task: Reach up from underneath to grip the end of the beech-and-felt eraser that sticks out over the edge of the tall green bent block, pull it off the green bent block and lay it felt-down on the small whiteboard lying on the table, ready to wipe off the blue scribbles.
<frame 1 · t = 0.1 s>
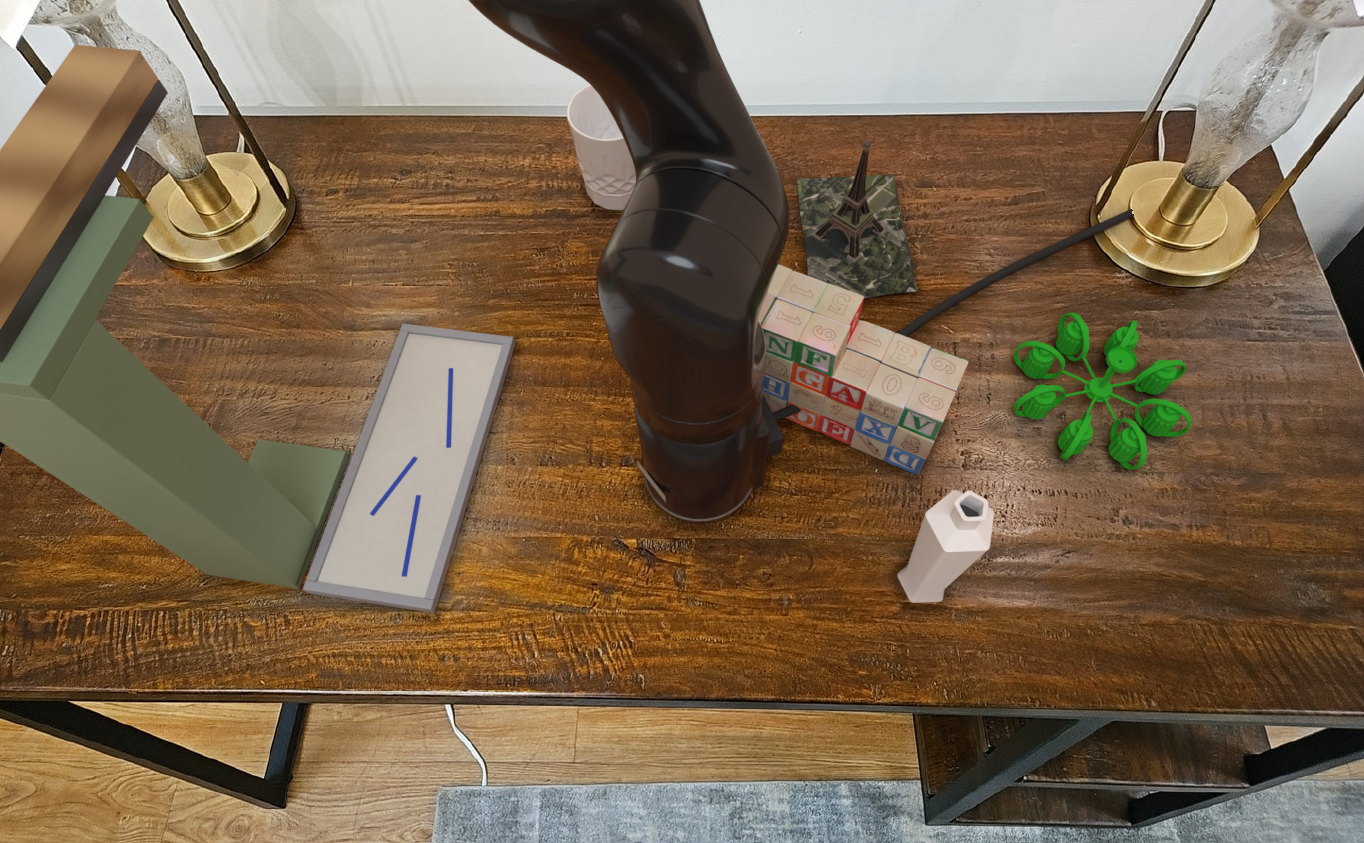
chandelier: (1089, 402, 77), on the table
eraser: (59, 211, 48), point 32 cm above the table, touching green bent block
white faceted vase: (922, 579, 70), on the table
white cup: (619, 187, 91), on the table
eiffel tower figurine: (853, 239, 86), on the table
green bent block: (280, 513, 74), on the table
stack of blocks: (814, 399, 78), on the table
whiteboard: (419, 459, 76), on the table
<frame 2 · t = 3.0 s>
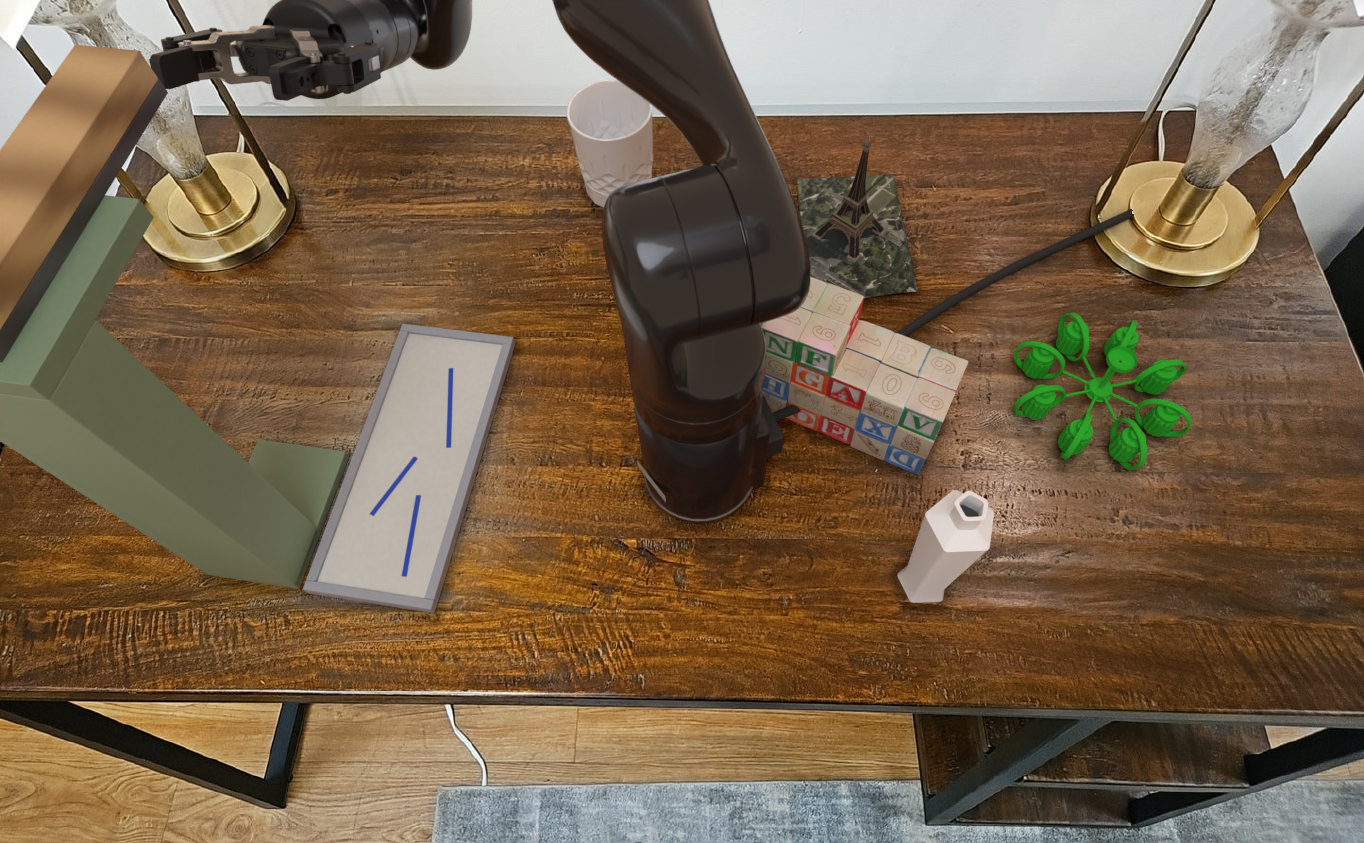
hand: (216, 78, 59), 28 cm above the table, tool pointing upward, fingers open, 8 cm apart
nothing on the table moved.
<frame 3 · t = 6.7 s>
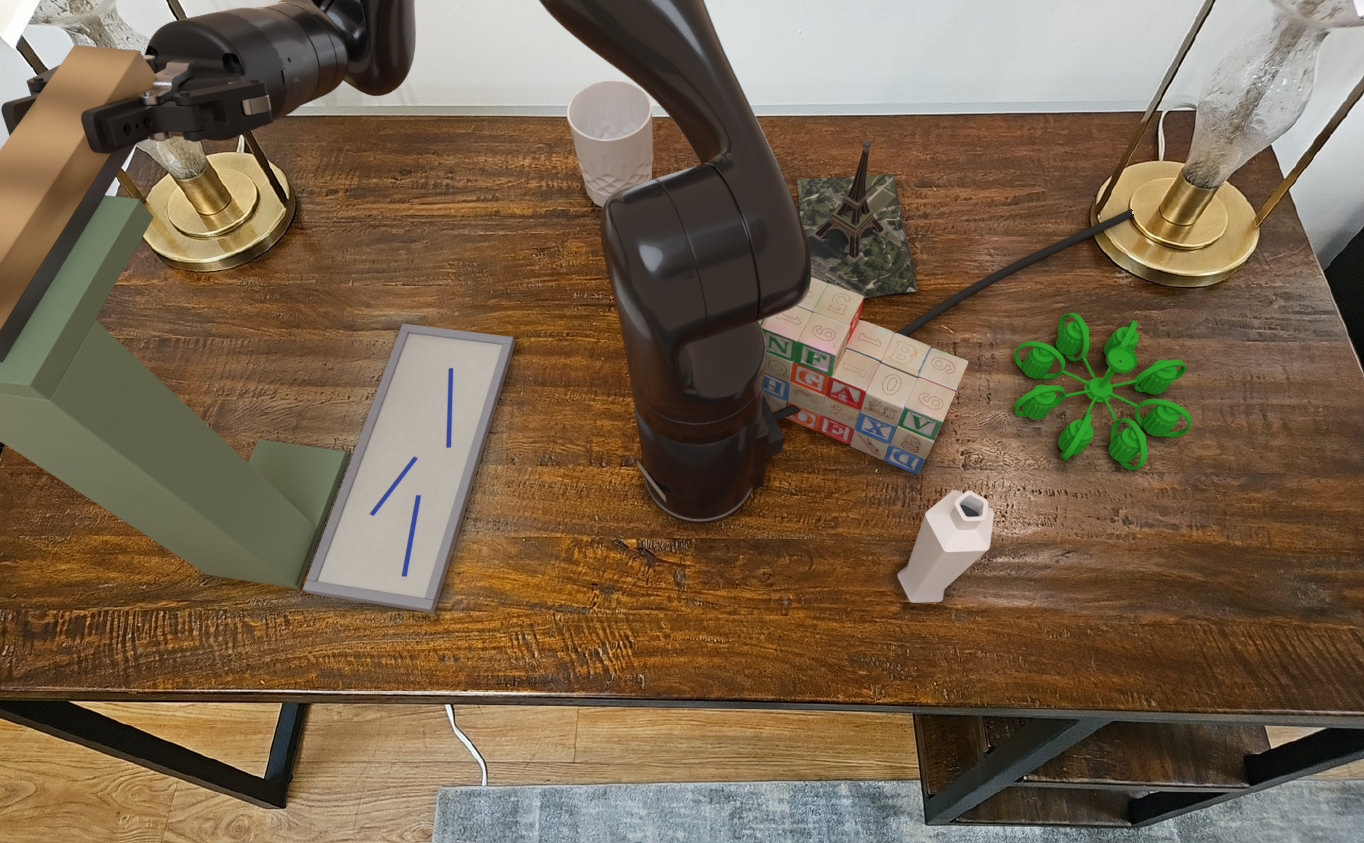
hand: (53, 129, 47), 35 cm above the table, tool pointing upward, fingers closed on eraser, 4 cm apart
eraser: (59, 211, 48), point 32 cm above the table, touching gripper, green bent block
everything else where it was.
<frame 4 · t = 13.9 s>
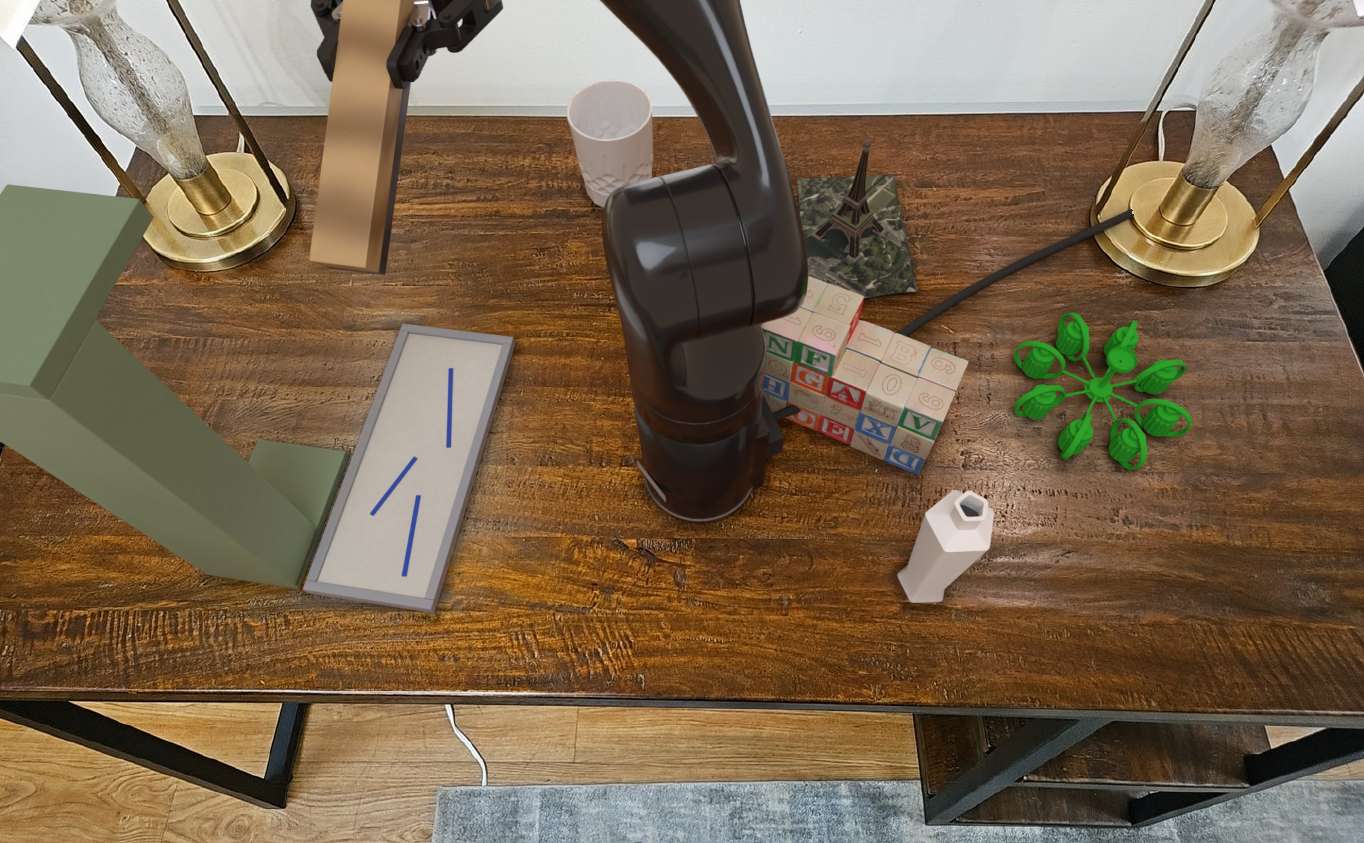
hand: (362, 74, 59), 28 cm above the table, tool horizontal, fingers closed on eraser, 4 cm apart
eraser: (376, 135, 61), point 24 cm above the table, tilted 29°, touching gripper
everything else where it was.
when the fingers open (10 cm above the table, at t = 19.6 s): eraser drops 5 cm, resting on whiteboard.
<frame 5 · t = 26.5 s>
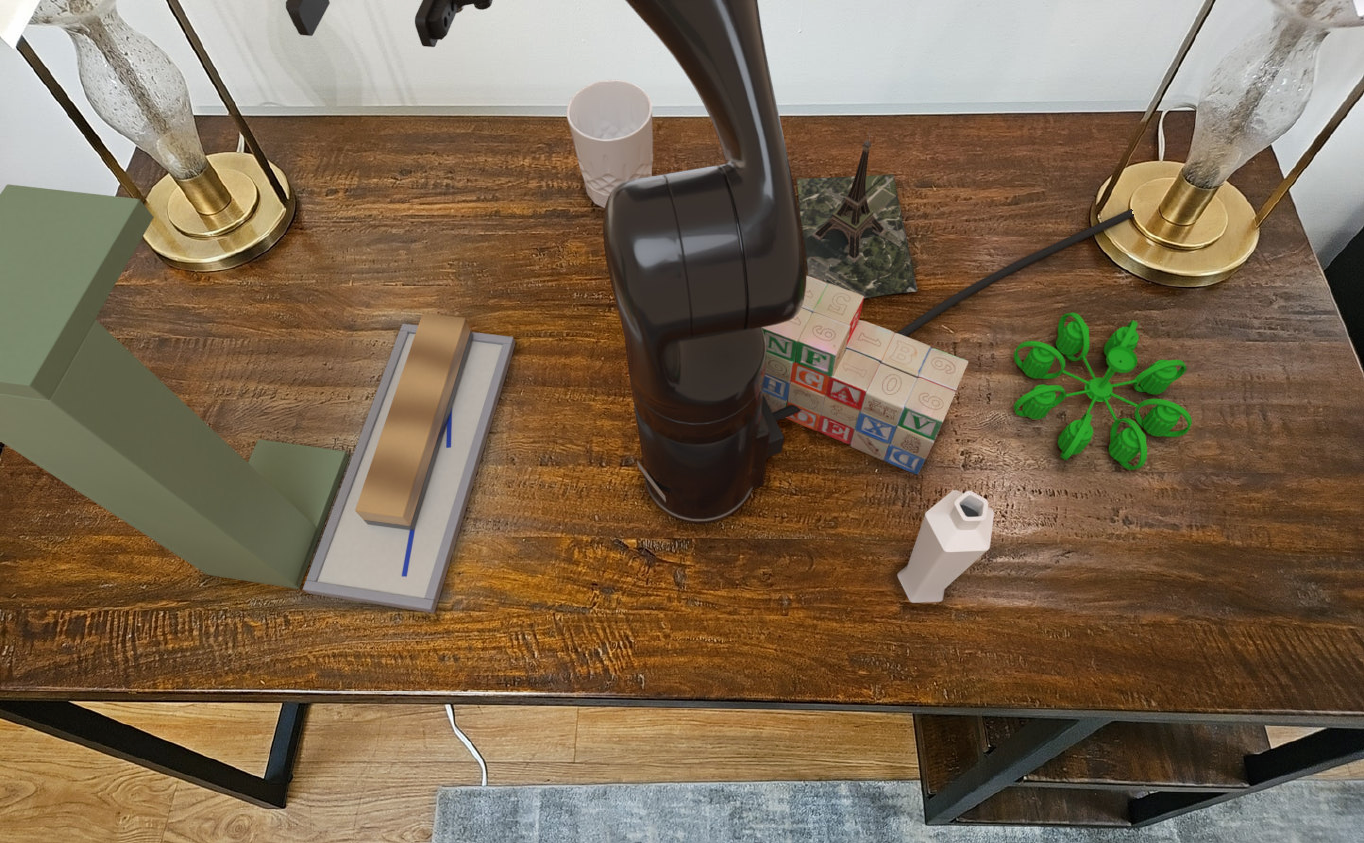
hand: (361, 30, 58), 30 cm above the table, tool horizontal, fingers open, 8 cm apart
eraser: (423, 425, 77), point 1 cm above the table, touching whiteboard
everything else where it was.
at the end: eraser touching whiteboard; eraser 2.8 cm from the whiteboard (horizontally); eraser tilted 1° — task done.
